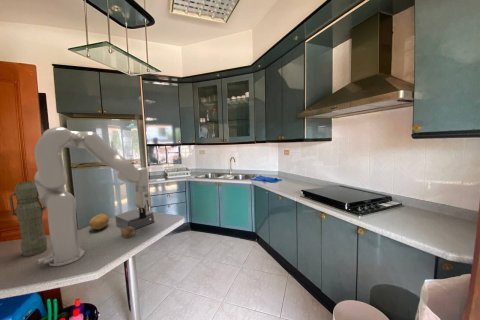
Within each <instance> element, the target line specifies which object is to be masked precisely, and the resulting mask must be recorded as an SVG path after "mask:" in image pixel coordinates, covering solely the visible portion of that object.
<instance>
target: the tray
mask: <svg viewBox="0 0 480 320" xmlns="http://www.w3.org/2000/svg"><path fill="white" fill-rule="evenodd" d="M154 217H155V215H154V214H153V215H151V216H148V217H147V216H146V218H144V219H139V220H136V221H133V222H130V223H129V226H131V227H133V228H135V230H136V229H139V228H142V227H145V226H147V225H150V224H152V223H155V218H154Z"/></svg>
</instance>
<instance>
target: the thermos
mask: <svg viewBox="0 0 480 320" xmlns="http://www.w3.org/2000/svg"><path fill="white" fill-rule="evenodd" d="M13 196H15V200H16V208H15V207H14V201H13ZM8 199H9V204H10V211H11V215H12V216H15V217H16V220H17V221H18V224H19V231H20V235H21V236H20V237H21V242H20V249H21V251H22V256H23V257H31V256H35V255H39V254H41V253H43V252H46V251H47V250H48V245H47V244H48V242H47V241H48V239H47V236H46V234H45V229H44V223H43V216H44V214H43V213H44V211H45V210H47V208H45V207H44V206H43V205H42V203H41V201H40V198H39V195H38V191H37V188H36V184H35V181H33V180H31V181H29V180H28V181H21V182H19V183H16V186H15V188H14V192H12V193H11V194H10V196H9V198H8Z"/></svg>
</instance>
